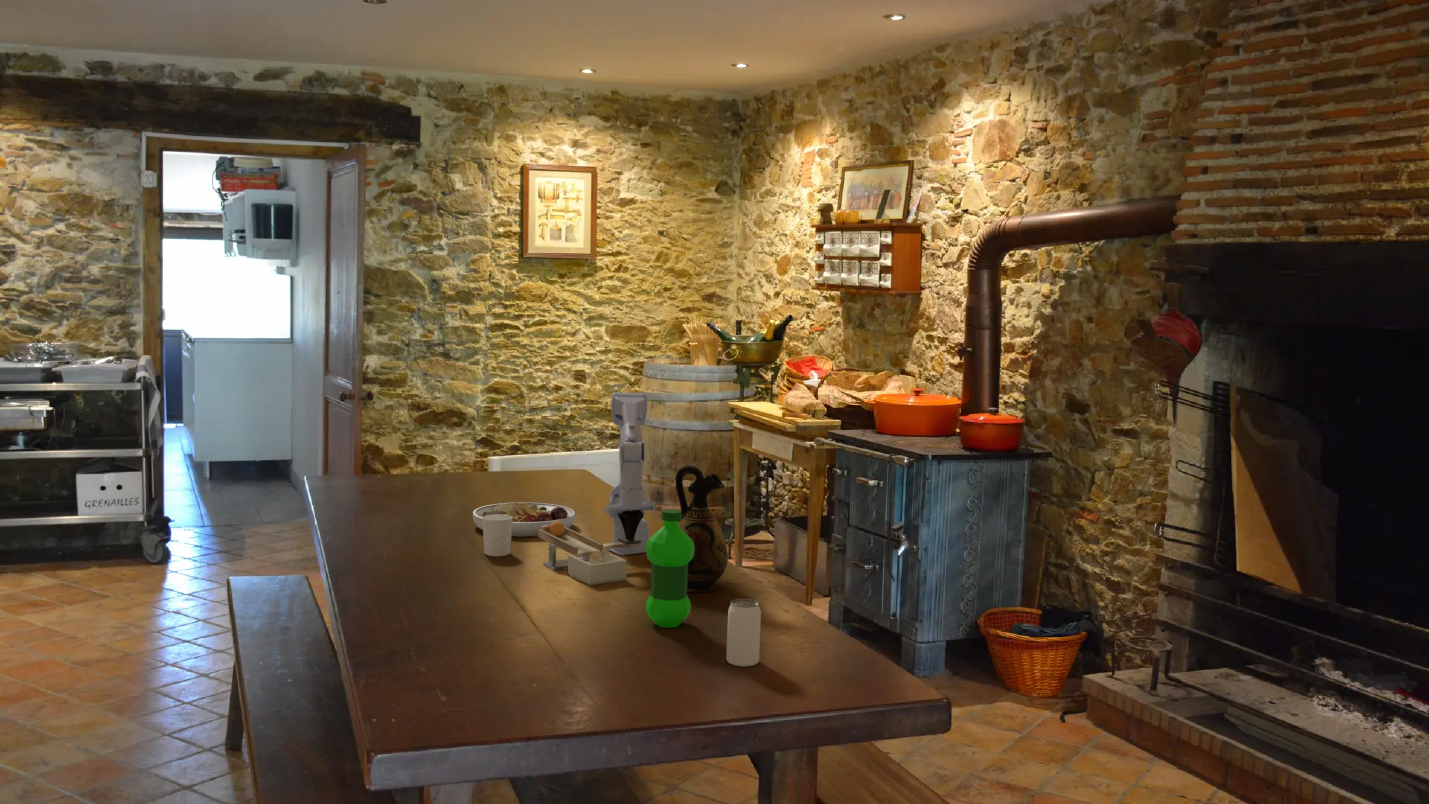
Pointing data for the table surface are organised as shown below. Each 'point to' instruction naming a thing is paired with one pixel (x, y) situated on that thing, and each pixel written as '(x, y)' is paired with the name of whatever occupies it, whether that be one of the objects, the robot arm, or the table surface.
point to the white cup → (497, 534)
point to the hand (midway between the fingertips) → (629, 539)
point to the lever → (582, 542)
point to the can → (743, 633)
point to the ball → (557, 528)
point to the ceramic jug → (702, 531)
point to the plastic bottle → (669, 571)
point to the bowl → (527, 516)
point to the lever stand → (559, 563)
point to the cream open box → (598, 569)
